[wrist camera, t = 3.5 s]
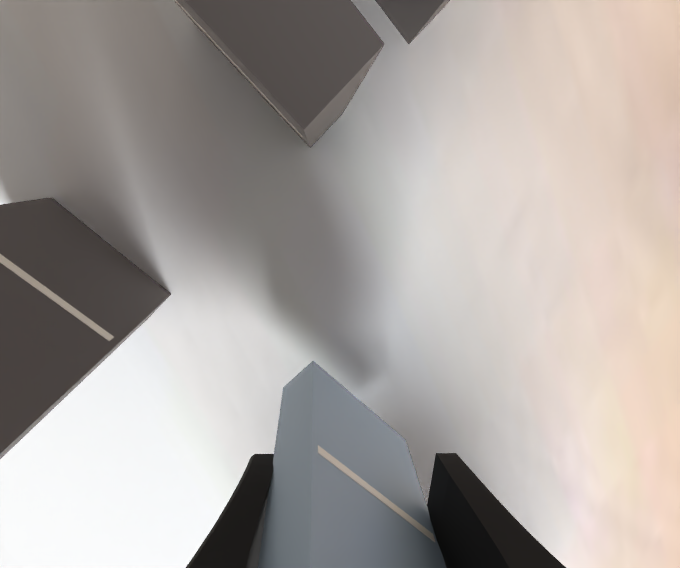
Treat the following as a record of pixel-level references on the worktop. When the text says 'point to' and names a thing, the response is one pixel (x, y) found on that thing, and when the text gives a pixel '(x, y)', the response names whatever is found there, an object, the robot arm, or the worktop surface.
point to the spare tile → (342, 486)
